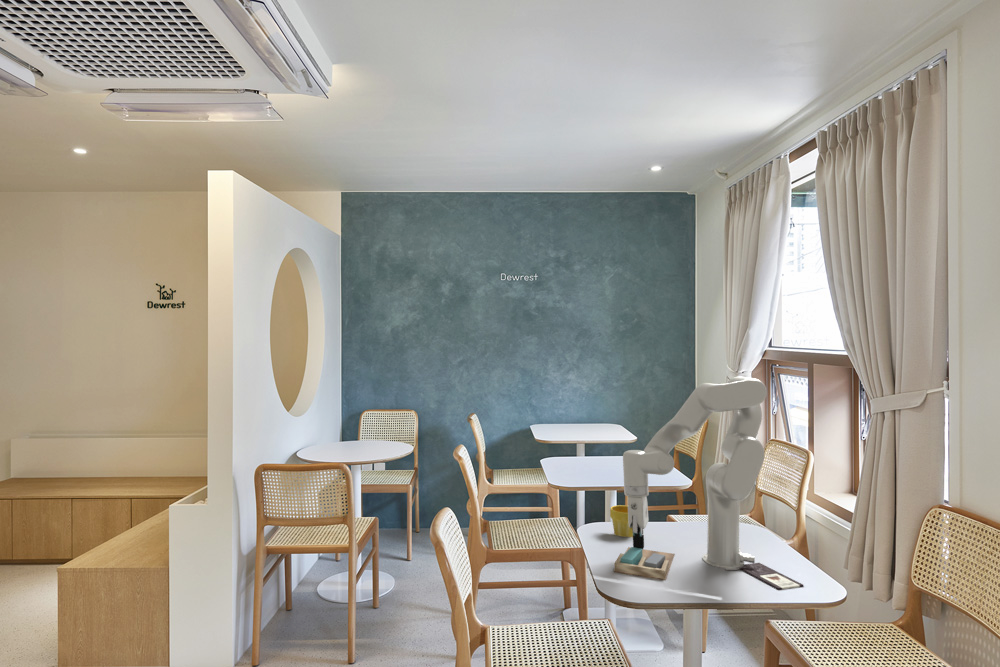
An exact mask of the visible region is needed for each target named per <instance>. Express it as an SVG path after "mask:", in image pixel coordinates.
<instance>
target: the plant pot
mask: <svg viewBox="0 0 1000 667" xmlns="http://www.w3.org/2000/svg"><path fill="white" fill-rule="evenodd" d="M609 517H610V519H611V521H612V527H613V532H614V536H618V537H622V538H623V537H624V538H632V539H633V530H632V528H630V527H629V523H628V505H624V504H623V505H621V504H619V505H613V506H611V507H610V510H609Z"/></svg>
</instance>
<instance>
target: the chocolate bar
mask: <svg viewBox="0 0 1000 667" xmlns="http://www.w3.org/2000/svg"><path fill="white" fill-rule="evenodd" d="M739 570H740V571H742V572H743V573H746V574H747V575H749V576H752V577H753V578H755V579H757V580H758V581H761V582H762V583H764V584H766V585H768V586H770V587H772V588H773V587H774V588H773V589H775V588H776V589H775V590H778V591H781V590H788V589H789V590H790V589H796V588H804V584H803V583H801V582H799V581H796V580H795V579H793V578H791V577H788V576H787V575H784V573H781V572H779V571H777V570H774V569H773V568H770V567H769V566H766V565H765V564H763V563H760V562H755V563H747V564H745V563H744V567H742V568H741V569H739Z"/></svg>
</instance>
